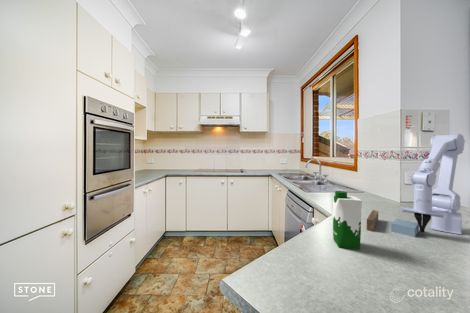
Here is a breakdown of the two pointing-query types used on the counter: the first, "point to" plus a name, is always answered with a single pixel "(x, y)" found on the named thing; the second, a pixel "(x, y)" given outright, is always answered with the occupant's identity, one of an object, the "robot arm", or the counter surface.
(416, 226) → the block
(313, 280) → the counter surface
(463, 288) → the counter surface
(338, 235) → the milk carton
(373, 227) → the board
